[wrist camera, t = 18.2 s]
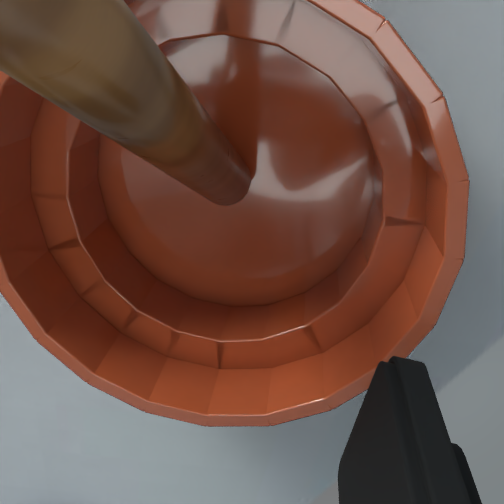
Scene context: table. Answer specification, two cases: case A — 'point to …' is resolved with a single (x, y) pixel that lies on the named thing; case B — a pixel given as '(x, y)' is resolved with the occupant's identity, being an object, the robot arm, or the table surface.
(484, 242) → the table surface
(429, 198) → the bowl
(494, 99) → the table surface
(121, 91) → the stick
